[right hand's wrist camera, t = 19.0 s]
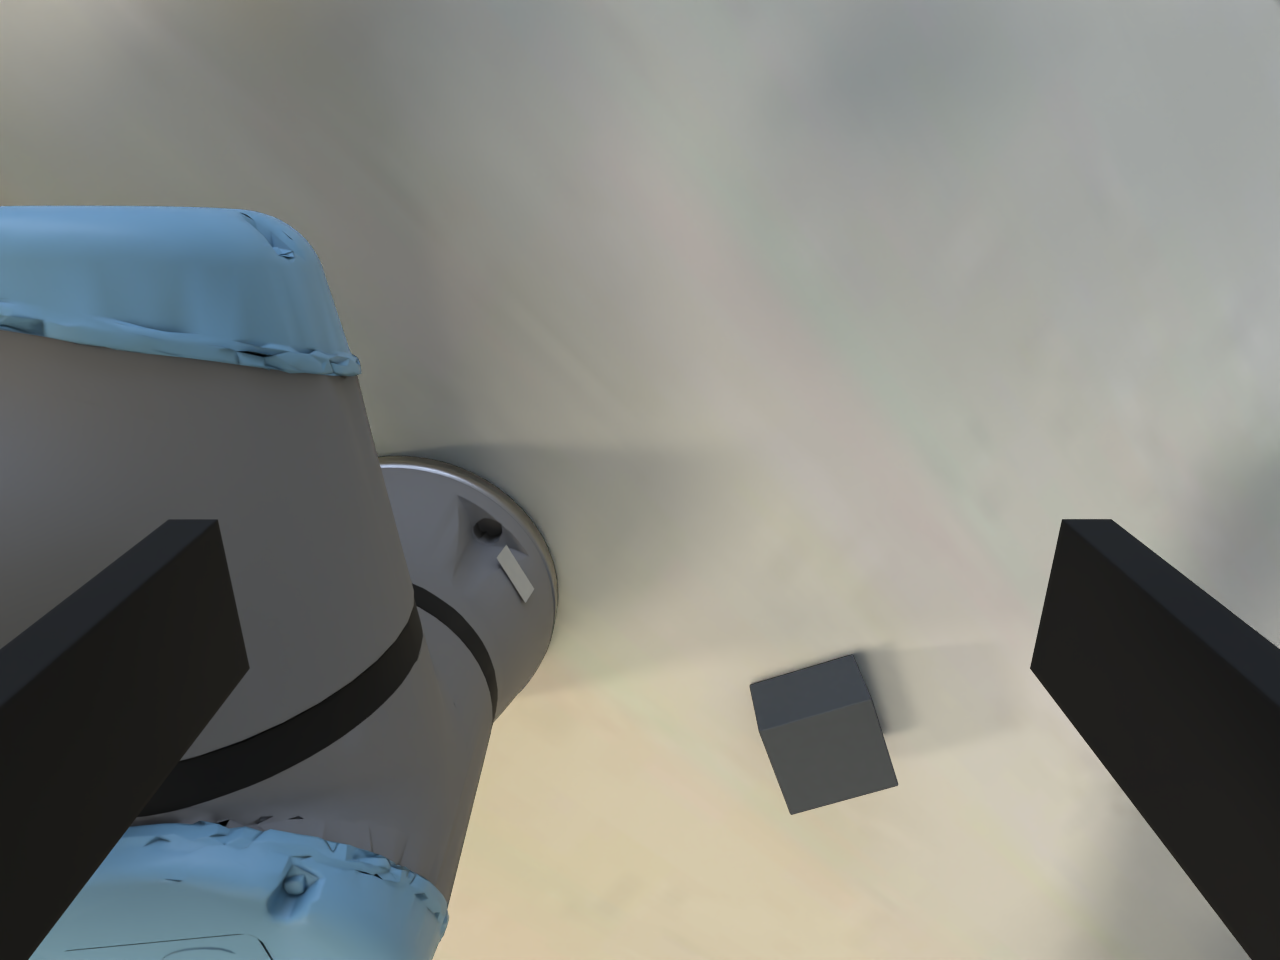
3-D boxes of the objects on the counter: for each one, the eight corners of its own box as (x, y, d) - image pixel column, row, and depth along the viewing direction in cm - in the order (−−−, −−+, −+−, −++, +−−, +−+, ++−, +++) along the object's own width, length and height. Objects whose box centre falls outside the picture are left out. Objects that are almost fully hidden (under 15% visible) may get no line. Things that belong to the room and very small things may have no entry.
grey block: (779, 764, 48) (790, 815, 44) (749, 684, 46) (758, 731, 42) (878, 736, 47) (898, 786, 43) (852, 653, 45) (871, 698, 41)
